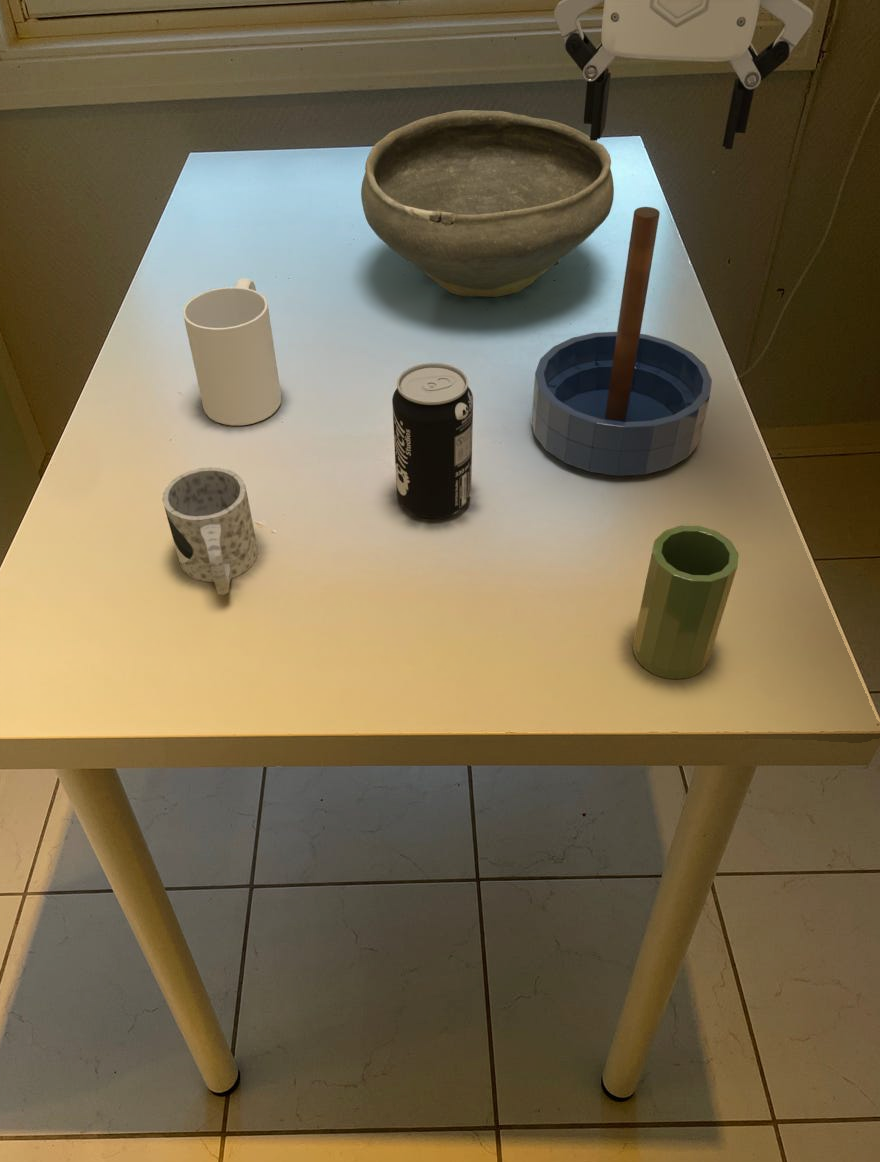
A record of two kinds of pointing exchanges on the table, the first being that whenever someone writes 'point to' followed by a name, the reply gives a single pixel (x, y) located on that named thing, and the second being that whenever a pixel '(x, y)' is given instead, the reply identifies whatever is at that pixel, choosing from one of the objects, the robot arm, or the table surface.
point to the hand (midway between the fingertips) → (661, 138)
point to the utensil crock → (684, 600)
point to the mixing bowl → (655, 413)
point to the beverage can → (433, 439)
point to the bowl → (486, 197)
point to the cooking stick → (631, 311)
